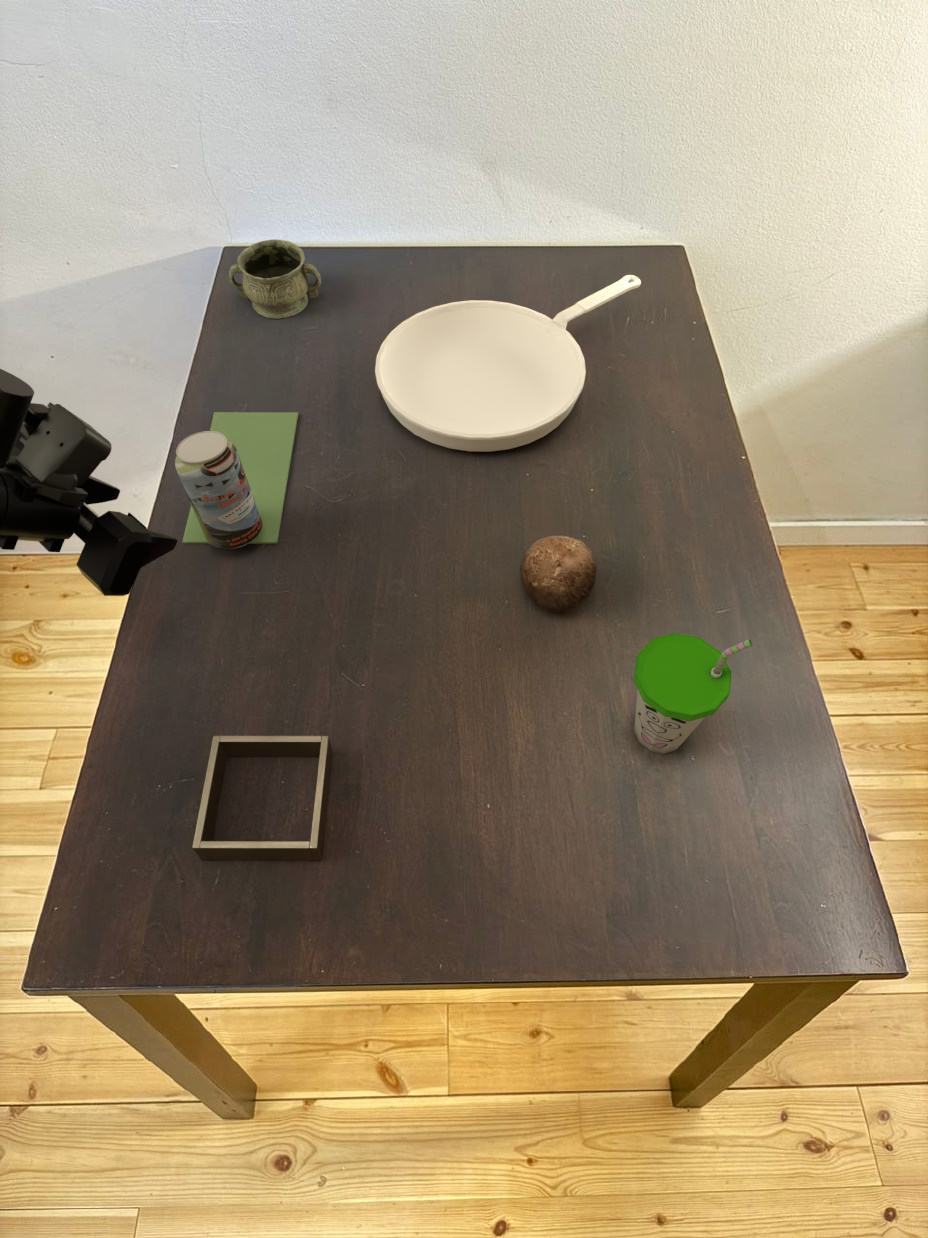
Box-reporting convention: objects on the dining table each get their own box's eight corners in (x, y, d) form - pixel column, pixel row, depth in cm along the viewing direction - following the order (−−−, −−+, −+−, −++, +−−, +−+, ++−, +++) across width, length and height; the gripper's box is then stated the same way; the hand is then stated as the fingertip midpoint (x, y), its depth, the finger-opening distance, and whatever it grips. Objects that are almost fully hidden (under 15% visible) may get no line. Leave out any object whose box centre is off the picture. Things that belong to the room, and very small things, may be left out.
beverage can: (230, 567, 87) (200, 486, 77) (188, 529, 90) (154, 446, 80) (278, 533, 90) (255, 450, 80) (235, 498, 93) (208, 413, 83)
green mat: (182, 543, 90) (182, 541, 89) (214, 413, 101) (214, 411, 101) (277, 543, 90) (276, 541, 89) (298, 414, 101) (298, 412, 101)
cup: (601, 744, 76) (628, 656, 64) (637, 680, 80) (669, 585, 68) (682, 786, 74) (726, 703, 62) (715, 718, 78) (763, 626, 65)
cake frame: (201, 860, 70) (191, 848, 68) (221, 750, 76) (213, 735, 73) (321, 860, 70) (316, 848, 68) (332, 750, 76) (328, 735, 73)
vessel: (327, 281, 116) (321, 238, 111) (320, 322, 111) (314, 279, 106) (240, 281, 116) (230, 238, 111) (229, 321, 111) (218, 278, 106)
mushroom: (602, 533, 86) (581, 518, 81) (614, 609, 84) (593, 600, 79) (531, 551, 90) (506, 538, 84) (540, 624, 88) (515, 616, 82)
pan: (337, 377, 105) (332, 347, 101) (568, 263, 118) (571, 233, 115) (463, 494, 94) (464, 465, 90) (702, 353, 107) (710, 324, 104)
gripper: (89, 470, 61) (242, 493, 75) (-42, 356, 68) (120, 396, 82) (36, 599, 64) (193, 599, 78) (-84, 477, 71) (79, 497, 85)
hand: (145, 518), depth 80 cm, fingers open, 9 cm apart
